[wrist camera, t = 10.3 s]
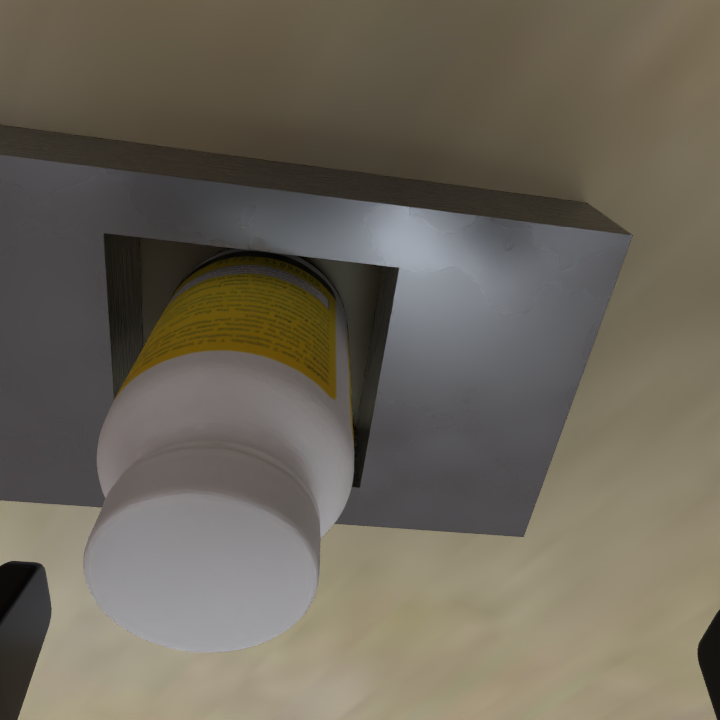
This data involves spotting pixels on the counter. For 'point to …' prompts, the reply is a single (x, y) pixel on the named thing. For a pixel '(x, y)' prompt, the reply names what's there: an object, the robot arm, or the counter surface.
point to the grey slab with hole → (318, 240)
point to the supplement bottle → (226, 457)
